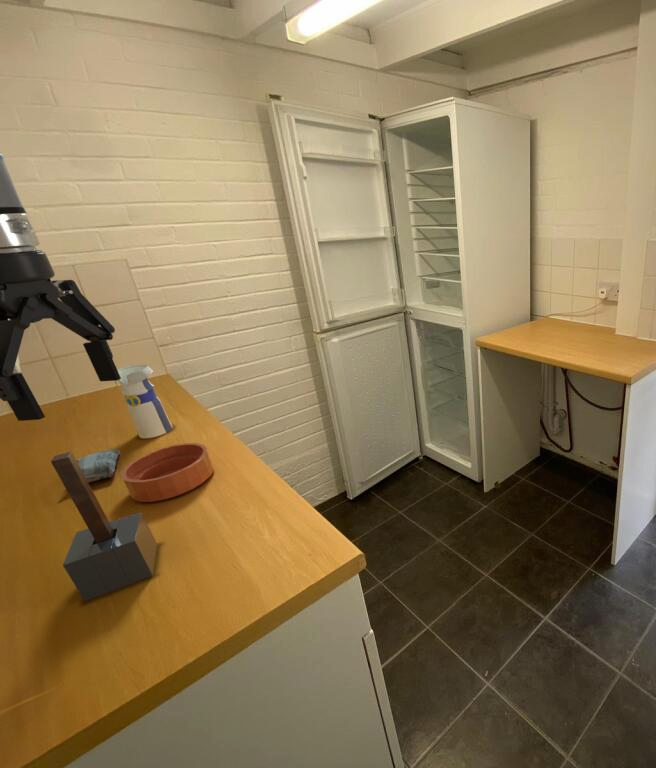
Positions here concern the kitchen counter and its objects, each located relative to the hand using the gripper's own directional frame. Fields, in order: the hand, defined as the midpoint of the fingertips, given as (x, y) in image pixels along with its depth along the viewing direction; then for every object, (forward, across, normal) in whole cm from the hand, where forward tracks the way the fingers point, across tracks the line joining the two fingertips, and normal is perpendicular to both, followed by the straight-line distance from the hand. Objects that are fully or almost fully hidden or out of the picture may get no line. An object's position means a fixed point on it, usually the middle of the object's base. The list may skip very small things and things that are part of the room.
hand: (75, 397), depth 63 cm
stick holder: (+33, -2, +4) cm, 33 cm away
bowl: (+33, +24, +12) cm, 42 cm away
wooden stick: (+33, -2, +4) cm, 33 cm away
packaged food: (+33, +30, +33) cm, 55 cm away
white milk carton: (+33, +51, +33) cm, 69 cm away
